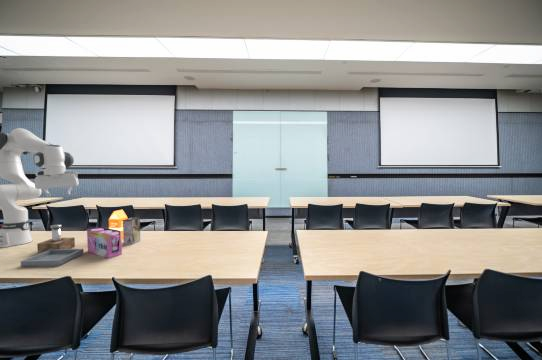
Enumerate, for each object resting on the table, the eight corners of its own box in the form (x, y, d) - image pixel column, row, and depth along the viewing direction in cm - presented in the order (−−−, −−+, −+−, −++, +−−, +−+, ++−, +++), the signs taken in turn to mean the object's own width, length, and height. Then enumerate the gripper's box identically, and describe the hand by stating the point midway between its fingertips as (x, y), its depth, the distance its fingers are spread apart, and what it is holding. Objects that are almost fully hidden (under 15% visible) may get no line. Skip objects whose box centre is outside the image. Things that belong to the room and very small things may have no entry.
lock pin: (48, 251, 144) (47, 226, 143) (56, 248, 149) (55, 224, 148) (58, 251, 144) (57, 226, 143) (65, 248, 149) (64, 224, 149)
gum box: (123, 254, 140) (123, 231, 140) (109, 259, 133) (108, 234, 133) (101, 247, 152) (100, 226, 151) (87, 251, 145) (86, 229, 144)
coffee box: (131, 240, 168) (130, 217, 167) (140, 240, 168) (140, 217, 167) (123, 244, 159) (122, 220, 158) (132, 244, 158) (132, 220, 158)
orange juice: (128, 236, 176) (127, 209, 175) (119, 240, 167) (118, 211, 166) (118, 236, 177) (117, 209, 176) (108, 239, 168) (108, 211, 167)
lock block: (37, 254, 140) (37, 243, 140) (54, 247, 152) (54, 237, 152) (59, 253, 141) (59, 243, 141) (74, 246, 153) (74, 237, 153)
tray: (20, 267, 122) (20, 261, 122) (50, 254, 140) (50, 249, 140) (58, 266, 123) (58, 260, 123) (83, 253, 141) (83, 248, 141)
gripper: (79, 170, 149) (81, 193, 149) (38, 173, 143) (41, 196, 143) (74, 170, 143) (76, 193, 143) (31, 173, 137) (34, 197, 137)
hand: (58, 195), depth 143 cm, fingers open, 8 cm apart
